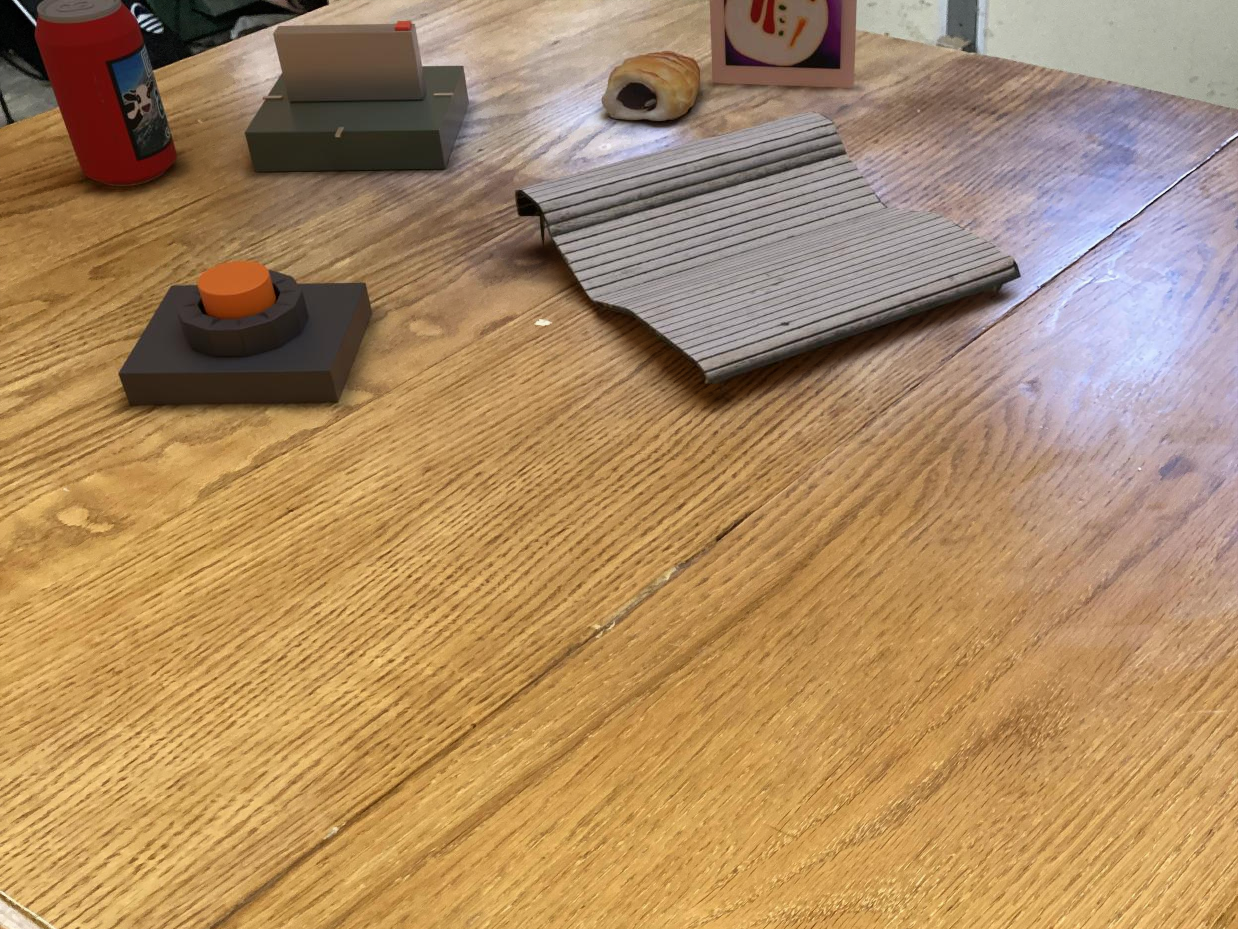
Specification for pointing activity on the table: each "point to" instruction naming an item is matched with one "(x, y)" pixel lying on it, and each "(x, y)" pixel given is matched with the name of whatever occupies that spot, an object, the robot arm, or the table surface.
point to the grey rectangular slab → (350, 62)
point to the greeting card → (783, 42)
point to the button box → (250, 348)
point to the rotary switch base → (360, 129)
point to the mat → (755, 245)
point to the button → (236, 290)
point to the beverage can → (105, 90)
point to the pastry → (652, 87)
